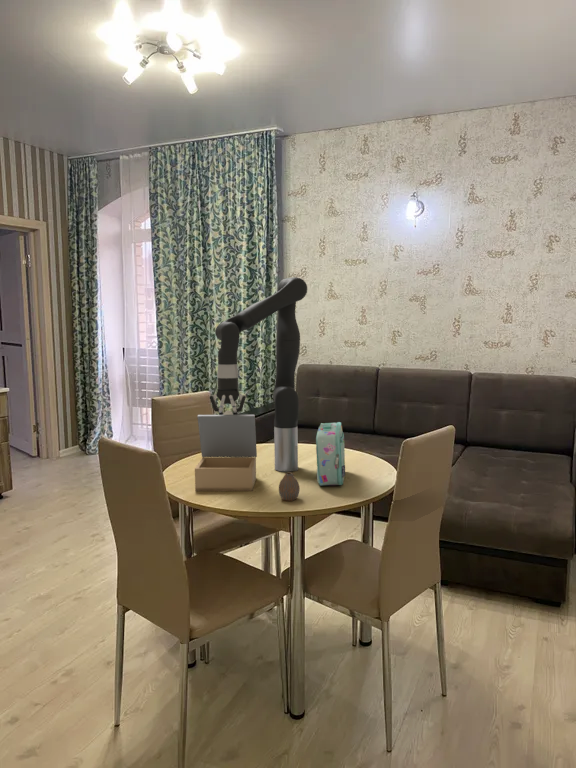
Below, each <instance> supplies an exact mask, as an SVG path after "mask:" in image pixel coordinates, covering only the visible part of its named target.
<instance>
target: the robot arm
mask: <svg viewBox="0 0 576 768" xmlns="http://www.w3.org/2000/svg"><path fill="white" fill-rule="evenodd" d="M307 294H308V285H307V283H306V281H305V280H304V279H303V278H301V277H294V276H293V277H287V278H283V279H281V280H280V282H279V283H278V285H277V292H275V293H273V294H271V295H270V296H268V297H266V298H264V299H263V298H262V299H261V300H260V301H257V302H255V303H253V304H250V305H249V306H247V307H246V308H245V309H243V310H241V311H239V312H238V313H237V314H235V315H233V316H231V317H229V318H227V319H225V320H224V321H222V322H220V323H219V324H218V325H217V326H216V327H215V329H214V330H215V333H214V334H215V336H216V338H217V339H218V340H219V341H220V343H221V344H220V349H218V352H217V371H216V372H217V374H216V377H217V392H216V394H212V395H210V396H209V400H210V403H211V406H212V408H213V411H214V412H216V413H218V415H223V413H224V411H223V410H224V408H225V405H231V407H232V410H233V411H232V413H233V415H239V414H238V413H239V412H242V410H243V408H244V405H245V403H246V399H247V395H246V394H244V395H243V394H242V393H240V392H239V369H238V349H239V345H240V343H239V342H240V333H242V332H244V331H247V330H250V329H252V328H253V327H254V326H256V325H257V324H259V323H261V322H263V321H264V320H265V319H267V318H269V316H271V315H273V314H275V313H277V312H278V313H277V314H278V315H277V332H276V346H275V353H276V354H275V363H276V365H275V367H276V375H275V384H274V389H273V397H272V399H273V402H274V420H273V426H274V428H273V429H274V430H273V432H274V435H273V436H274V437H273V438H274V439H273V440H274V470H275V471H277V472H284V473H289V472H295V471H298V470H299V461H298V460H299V458H298V457H299V456H298V455H299V450H298V449H299V447H298V446H299V443H298V440H299V439H298V434H299V433H298V421H299V409H300V408H299V401H300V400H299V395H298V392H297V391H296V387H295V378H296V377H295V374H296V369H297V364H298V360H299V355H300V351H301V349H300V348H301V333H300V329H299V326H298V325H299V324H298V323H297V319H296V318H297V317H296V305H297V303H298V302H300V301H301V300H303V299H304V298H305V297H306V295H307ZM238 398H239V401H240V404H239V406H237V403H236V401H237V400H238ZM217 399H218V400H219V401H220V404H219V407H218V404H217V402H216V400H217Z"/></svg>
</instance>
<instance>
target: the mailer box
mask: <svg viewBox="0 0 576 768" xmlns="http://www.w3.org/2000/svg"><path fill="white" fill-rule="evenodd" d="M256 480H257V457H201V459H200V460H199V462H198V463H197V465H196V466H195V467H194V486H195V487H194V489H195V492H253V491H254V487H255V483H256Z"/></svg>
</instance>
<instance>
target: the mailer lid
mask: <svg viewBox="0 0 576 768" xmlns="http://www.w3.org/2000/svg"><path fill="white" fill-rule="evenodd" d="M233 413H234V412H233V411H231V410H226V411H223V415H219V414H197V423H198V434H199V443H200V452H201V453H200V454H201V458H203V457H256V458H257V457H258V453H257V433H256V417H255V414H238V415H233Z"/></svg>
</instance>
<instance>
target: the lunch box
mask: <svg viewBox="0 0 576 768" xmlns="http://www.w3.org/2000/svg"><path fill="white" fill-rule="evenodd" d="M315 446H316V448H315V450H316V451H315V452H316V481H317V483H318V485H319V486H342V485H344V480H345V476H346V464H345V463H346V462H345V459H346V458H345V456H346V455H345V454H346V453H345V434H344V432H343V425H342V422H340V421H337V422H325V423H322V422H321V423H320V425H319V426H318V429H317V432H316V437H315Z"/></svg>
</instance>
